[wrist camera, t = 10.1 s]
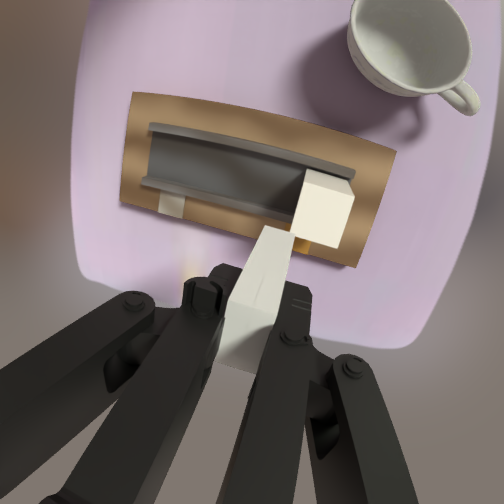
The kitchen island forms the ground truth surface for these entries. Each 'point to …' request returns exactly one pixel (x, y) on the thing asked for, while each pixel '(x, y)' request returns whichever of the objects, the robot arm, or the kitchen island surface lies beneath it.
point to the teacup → (413, 49)
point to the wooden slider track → (245, 168)
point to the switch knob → (322, 208)
